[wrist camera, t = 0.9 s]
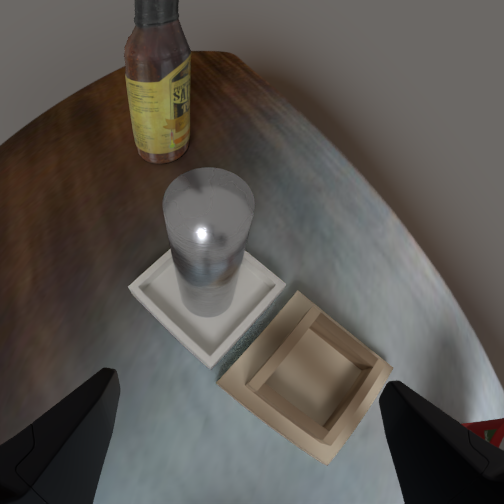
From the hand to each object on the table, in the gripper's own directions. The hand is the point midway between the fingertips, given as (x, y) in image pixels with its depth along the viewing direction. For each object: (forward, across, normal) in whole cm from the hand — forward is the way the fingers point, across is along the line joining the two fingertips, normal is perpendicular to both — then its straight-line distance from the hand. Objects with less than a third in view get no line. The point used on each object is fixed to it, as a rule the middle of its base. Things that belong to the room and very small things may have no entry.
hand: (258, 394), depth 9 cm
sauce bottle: (+29, +9, -5) cm, 31 cm away
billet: (+16, +2, +5) cm, 17 cm away
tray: (+16, +2, +6) cm, 17 cm away
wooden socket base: (+11, -6, +10) cm, 16 cm away
